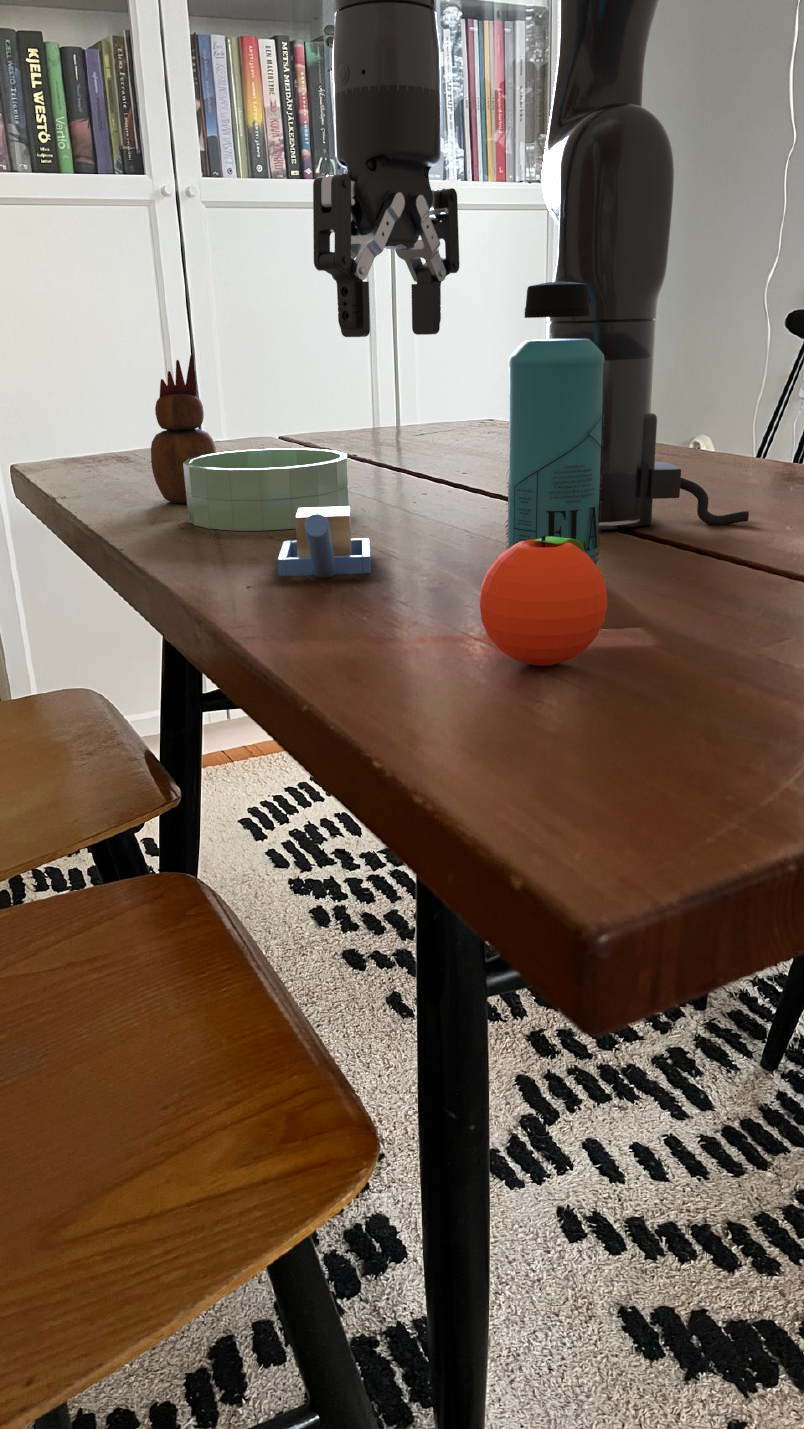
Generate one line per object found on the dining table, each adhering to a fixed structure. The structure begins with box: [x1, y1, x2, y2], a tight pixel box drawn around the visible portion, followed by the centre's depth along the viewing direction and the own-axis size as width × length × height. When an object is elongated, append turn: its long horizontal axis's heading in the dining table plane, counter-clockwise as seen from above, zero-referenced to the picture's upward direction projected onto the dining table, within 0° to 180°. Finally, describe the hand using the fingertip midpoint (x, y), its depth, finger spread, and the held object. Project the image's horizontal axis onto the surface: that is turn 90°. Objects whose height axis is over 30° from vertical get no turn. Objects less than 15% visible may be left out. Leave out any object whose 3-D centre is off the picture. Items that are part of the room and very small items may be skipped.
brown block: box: [295, 505, 353, 557], centre depth 80 cm, size 4×4×4 cm
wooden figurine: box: [150, 354, 217, 505], centre depth 112 cm, size 7×6×15 cm
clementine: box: [478, 535, 609, 667], centre depth 58 cm, size 8×7×7 cm
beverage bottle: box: [505, 281, 605, 566], centre depth 71 cm, size 6×7×20 cm
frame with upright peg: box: [277, 514, 372, 579], centre depth 76 cm, size 16×7×6 cm, turn 2°
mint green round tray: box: [183, 447, 350, 532], centre depth 100 cm, size 15×15×6 cm
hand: (392, 335), depth 80 cm, fingers open, 8 cm apart
